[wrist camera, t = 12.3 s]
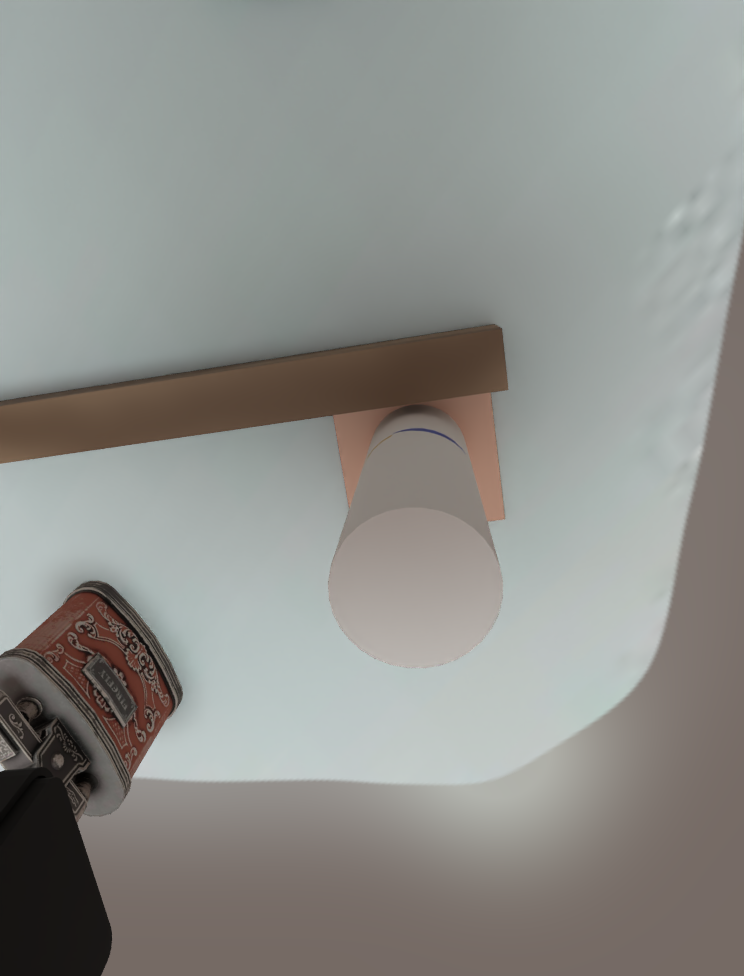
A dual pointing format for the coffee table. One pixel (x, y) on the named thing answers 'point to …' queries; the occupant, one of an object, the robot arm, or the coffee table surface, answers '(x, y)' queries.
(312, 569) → the coffee table surface
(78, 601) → the lighter
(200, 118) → the coffee table surface
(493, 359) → the walnut straightedge
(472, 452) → the end pad
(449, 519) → the tube
